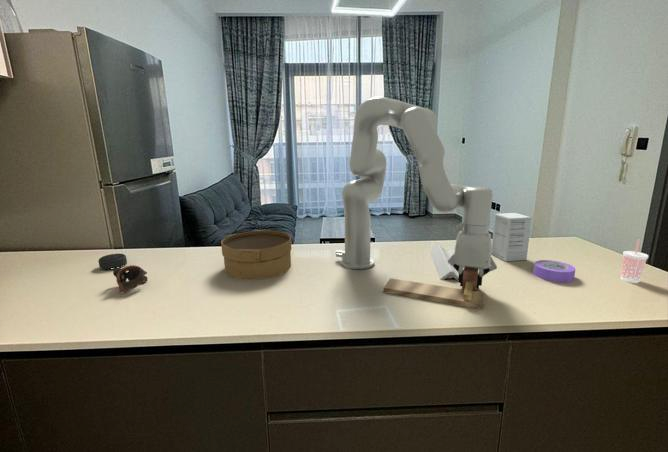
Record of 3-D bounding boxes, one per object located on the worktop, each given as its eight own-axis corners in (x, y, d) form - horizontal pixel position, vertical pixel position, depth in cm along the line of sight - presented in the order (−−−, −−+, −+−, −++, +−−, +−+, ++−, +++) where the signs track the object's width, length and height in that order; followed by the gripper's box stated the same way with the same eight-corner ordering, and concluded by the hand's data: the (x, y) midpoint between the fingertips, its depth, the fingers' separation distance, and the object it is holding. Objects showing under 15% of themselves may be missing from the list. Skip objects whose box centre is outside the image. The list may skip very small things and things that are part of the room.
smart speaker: (117, 270, 124) (116, 260, 123) (94, 270, 124) (92, 260, 123) (132, 262, 133) (130, 252, 132) (110, 262, 133) (108, 253, 132)
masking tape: (528, 268, 121) (529, 258, 120) (564, 270, 118) (566, 260, 117) (540, 281, 110) (542, 270, 109) (580, 284, 107) (582, 273, 106)
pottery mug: (157, 282, 114) (151, 266, 109) (138, 304, 107) (131, 289, 102) (125, 271, 116) (118, 256, 110) (105, 293, 109) (96, 277, 103)
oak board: (383, 292, 103) (383, 287, 103) (390, 282, 110) (390, 278, 110) (482, 309, 92) (483, 304, 91) (483, 297, 99) (483, 292, 98)
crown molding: (476, 283, 110) (477, 272, 109) (438, 281, 112) (439, 271, 111) (457, 252, 140) (458, 244, 139) (428, 251, 142) (428, 243, 141)
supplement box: (527, 260, 128) (533, 217, 124) (505, 262, 127) (510, 218, 123) (510, 252, 138) (515, 212, 134) (490, 254, 136) (494, 213, 132)
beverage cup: (638, 278, 111) (647, 237, 107) (645, 285, 105) (655, 242, 102) (615, 275, 113) (623, 235, 110) (621, 282, 108) (630, 240, 104)
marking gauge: (458, 305, 94) (460, 282, 92) (463, 284, 108) (465, 263, 106) (474, 307, 92) (476, 284, 91) (476, 286, 106) (478, 265, 104)
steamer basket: (272, 284, 110) (269, 251, 107) (209, 276, 118) (205, 245, 115) (303, 260, 133) (301, 232, 130) (248, 255, 141) (246, 228, 138)
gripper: (443, 229, 100) (439, 286, 104) (506, 234, 93) (499, 295, 97) (446, 223, 106) (443, 277, 111) (506, 228, 99) (499, 285, 104)
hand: (469, 285), depth 104 cm, fingers closed on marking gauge, 4 cm apart
